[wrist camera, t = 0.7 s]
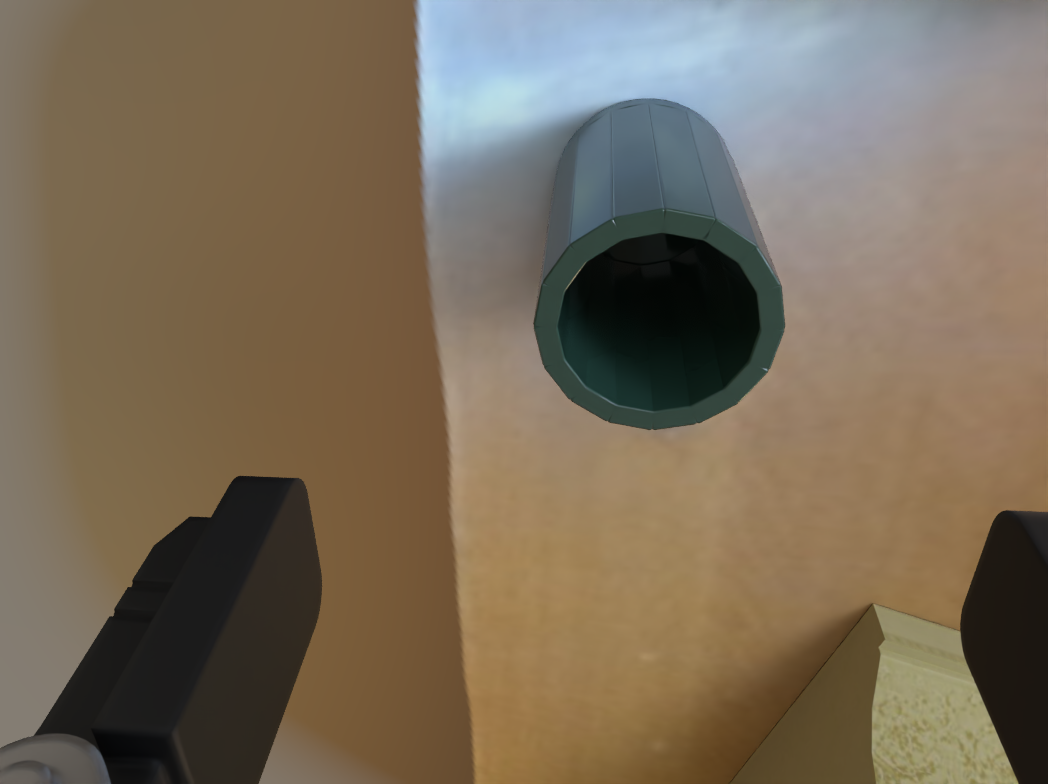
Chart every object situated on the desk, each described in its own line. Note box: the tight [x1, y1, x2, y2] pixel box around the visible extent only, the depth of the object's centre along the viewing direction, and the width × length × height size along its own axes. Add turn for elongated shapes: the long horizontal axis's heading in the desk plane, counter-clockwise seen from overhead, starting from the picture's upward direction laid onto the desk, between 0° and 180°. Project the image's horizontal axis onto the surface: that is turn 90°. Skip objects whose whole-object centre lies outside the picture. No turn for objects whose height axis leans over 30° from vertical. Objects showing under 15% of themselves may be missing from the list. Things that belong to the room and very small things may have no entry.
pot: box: [533, 99, 785, 430], centre depth 26 cm, size 6×6×10 cm
